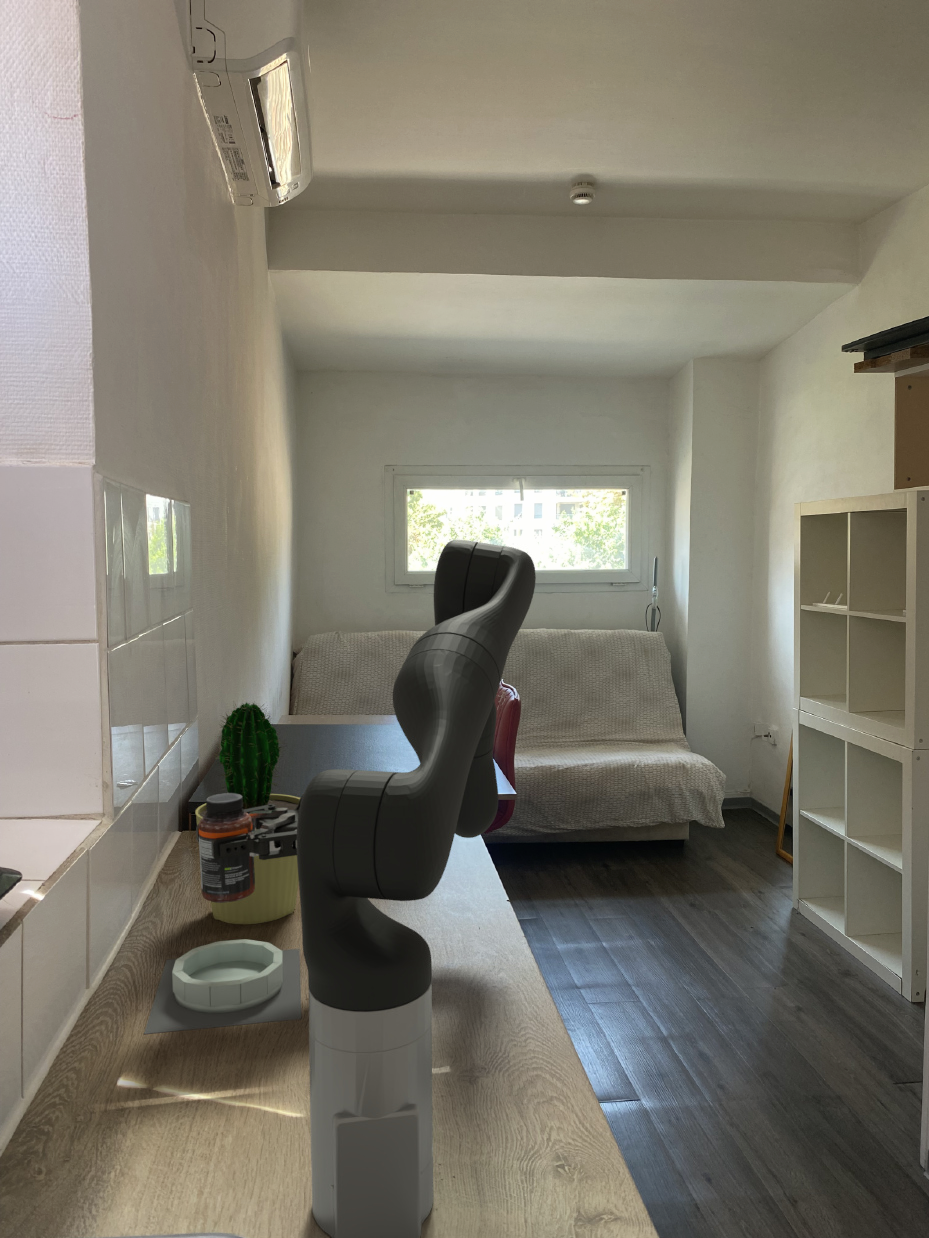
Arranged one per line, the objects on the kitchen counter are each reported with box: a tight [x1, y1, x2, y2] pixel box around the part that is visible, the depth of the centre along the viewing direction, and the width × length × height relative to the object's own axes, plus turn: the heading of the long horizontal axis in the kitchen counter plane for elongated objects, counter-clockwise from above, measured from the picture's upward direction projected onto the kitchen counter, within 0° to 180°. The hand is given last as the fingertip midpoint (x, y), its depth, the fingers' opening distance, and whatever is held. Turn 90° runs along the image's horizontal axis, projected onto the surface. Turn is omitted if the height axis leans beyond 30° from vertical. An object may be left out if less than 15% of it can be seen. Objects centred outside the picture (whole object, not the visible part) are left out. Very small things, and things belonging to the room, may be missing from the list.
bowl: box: [172, 938, 283, 1013], centre depth 105 cm, size 12×12×3 cm
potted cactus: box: [195, 701, 301, 925], centre depth 128 cm, size 15×15×30 cm
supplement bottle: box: [198, 792, 255, 903], centre depth 104 cm, size 6×6×11 cm
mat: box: [143, 948, 302, 1035], centre depth 105 cm, size 18×16×1 cm
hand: (205, 841), depth 103 cm, fingers closed on supplement bottle, 6 cm apart
